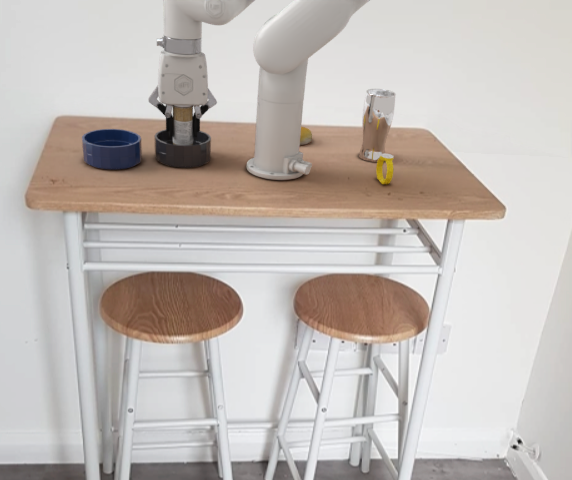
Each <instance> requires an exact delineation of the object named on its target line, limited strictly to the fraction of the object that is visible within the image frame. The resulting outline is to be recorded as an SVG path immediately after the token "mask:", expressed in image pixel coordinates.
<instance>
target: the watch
mask: <svg viewBox="0 0 572 480" xmlns="http://www.w3.org/2000/svg"><path fill="white" fill-rule="evenodd" d="M394 158H395V157H394V155H393V154H391V153H385V154H381V156H380V157H379V159H378V161H377V162H376V168H375V169H376V170H375V173H376V180H378V181H379V182H380V184H381V185H389V184H391V182H392V180H393V178H394V162H393V160H394ZM384 162H385V165H386V175H385V177H384V173H383V172H384V171H383V170H384V169H383V168H384V167H383V165H384Z"/></svg>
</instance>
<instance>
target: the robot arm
mask: <svg viewBox="0 0 572 480" xmlns="http://www.w3.org/2000/svg"><path fill="white" fill-rule="evenodd" d="M162 1H163V3H162V6H163V36H162V37H161V38H156V46H157V47H160V48H162V49H163V50H161V51H160V55H159V61H158V73H157V75H158V76H157V86H156V87H155V88H154V90H153V91H152V93H151V94H150V95H149V97H148V103H149V104H150V105H152V106H153V107H154V108H156V109H157V110H158V111H159V112H160V113H162V115H163V116H164V117H165V129H166V132H169V135H170V137H172V136H173V105H193V136H194V137H197V132H200V131H201V118H202V117H203V116H204V115H205V114H206V113H207V112H208V111H209V110H210V109H211V108H213V107H214V106H216V105H217V104H218V101H217V99H216V97H215V96H214V94H213V92H212V91H211V90H210V88H209V78H208V77H209V76H208V64H207V57H206V54H205V53H204V52H203V51H202V47H203V45H202V41H203V40H202V39H203V37H202V33H203V32H202V31H203V23H205V24H208V25H212V26H224V25H227V24H229V23H231V21H233V20H234V19H235V18H236V17H238V16H240V15H241V14H242V12H244V11H245V10H246V9H247V8H248V7H249V6H250V5H252V4H253V3H254V2H255V1H256V0H162ZM370 1H371V0H292V1H291V2H289V3H288V4H287V5H286V6H285V7H283V8H282V9H281V10H280V11H279V12H277V13H276V14H274V15H272V16H271V17H269V18H268V19H267V20H266V22H264V24H262V25H261V27H260V28H259V29H258V30H257V31H256V34H255V37H254V39H253V43H252V52H253V56H254V59H255V62H256V63H257V65H258V66H259V73H258V85H257V98H256V99H257V101H256V115H255V117H256V118H255V137H254V155H253V157H252V158H250V159H248V161H246V169H247V171H248V172H249V173H250V174H251V175H253V176H256V177H259V178H261V179H266V180H274V181H287V180H288V181H289V180H294V179H297V178H300V177H302V176H303V175H309V174H310V172H311V169H312V167H313V163H312V162H310V161H306V160H304V152H301V151H300V147H301V145H300V135H301V126H302V124H303V113H304V111H303V110H304V100H305V91H306V80H307V73H308V72H307V71H308V63H309V58H311V57H312V56H313V55H315V54H316V53H317V52H318V51H320V50H321V49H322V48H324V47H325V46H327V44H329V43H330V42H331V41H332V40H334V39H335V38H336V37H337V36H338V35H340V33H341V32H342V31H343V30H344V29H345V28H346V27H347V25H348V23H349V22H350V20H351V18H352V17H353V16H354V14H356V12H358V11H359V10H360V9H361V8H363V6H365V5H366V4H368V3H369V2H370ZM158 99H159V100H158Z"/></svg>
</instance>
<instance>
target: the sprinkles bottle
mask: <svg viewBox="0 0 572 480" xmlns="http://www.w3.org/2000/svg"><path fill="white" fill-rule="evenodd" d="M193 115H194V106H193V105H173V107H172V116H173V144H175V145H193Z"/></svg>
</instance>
